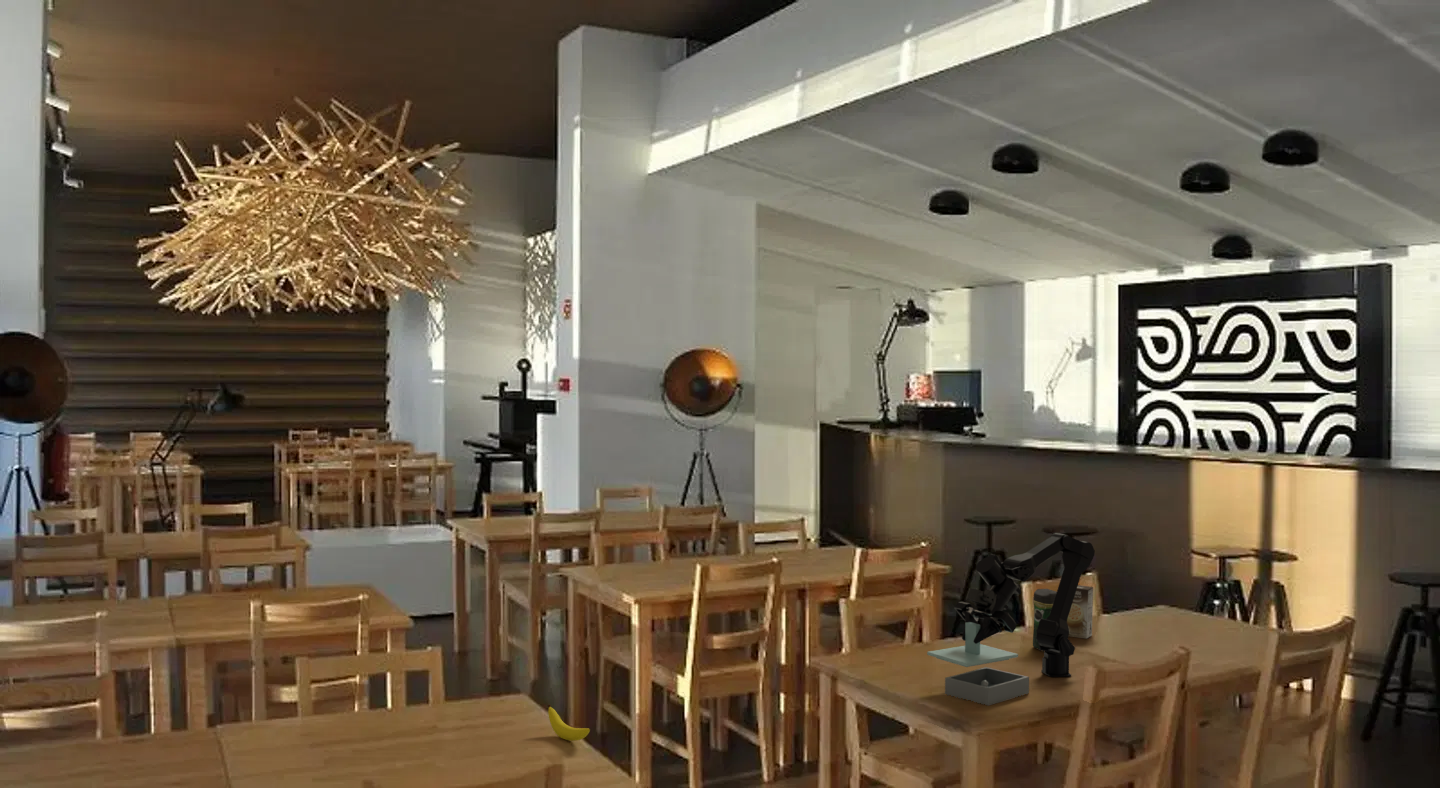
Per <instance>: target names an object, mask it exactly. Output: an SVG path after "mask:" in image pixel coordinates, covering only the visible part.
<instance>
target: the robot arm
mask: <svg viewBox="0 0 1440 788" xmlns="http://www.w3.org/2000/svg"><path fill="white" fill-rule="evenodd" d="M1058 553H1062V555H1061V560H1062V564H1063V570H1062V574H1061V577H1060V581H1059V584H1058V587H1057V590H1056V592H1057V593H1056V596H1055V599H1054V602H1053V606H1052V609H1051V612H1050V615H1049V616H1048V617H1047V618H1046V619H1040V621H1039V626H1038V628H1037V630H1036V632H1037V635H1036V639H1037V641H1038V645H1039V649H1040V650H1039V649H1038V650H1039V651H1040V652H1043V657H1042V659H1041V662H1042V663H1041V665H1042V666H1041V667H1042V668H1041V673H1043V674H1045V675H1047V677H1049V678H1055V677H1057V678H1058V677H1062V678H1063V677H1065V678H1066V677H1072V673H1070V657H1071V656H1073V655H1074V654H1075V649H1076V646H1074V644H1073V643H1072V642H1071V640H1070V639H1069V637H1070V636H1069V628H1068V624H1067V619H1068V616H1069V612H1070V609H1071V606H1072V603H1073V599H1074V596H1075V593H1076V590H1077V586H1078V585H1079V584H1080V580H1081V576H1082V574H1083V573H1084V572H1085V571H1086V570H1087V569H1088V568H1089V567H1090V566H1091V564H1092V561H1093V559H1094V557H1095V548H1094V545H1093V544H1092V543H1091V542H1088V541H1083V540H1082V541H1081V540H1078V539H1076V538H1073V537H1072V536H1069V535H1068V534H1064V533H1059V532H1055V533H1052V534H1051V535H1050V536H1049V537H1048V538H1046V539H1045V540H1043V541H1042V542H1040V543H1039V544H1037V545H1035V546H1034V547H1033V548H1031V549H1029V550H1027V552H1024V553H1021V554H1015V555H1012V556H1010V557H1009V556H1008V557H1007V558H1006V559H1004V560H1003V561H1002V562H1001V560H999V557H998V556H997V554H993V553H990V554H989V555H988V556H986V557H983V558H982V559H981V560H979V561H978V562H977V564H976V566H975V570H976V571H977V573H978V574H979V575H980V577H981V578H982V579H983V581H984V582H985V583H986V584H987V585H988V586H991V588H990V589H985V590H979V589H976V588H972V587H969V589H968V592H967V595H966V598H965V600H966V601H970V602H972V603H973V606H974V607H975V608H977V609H975V608H974V607H973V606H972V604H971V603H969V602H964V601H958V602H957V603H956V604H955V606H954V608H953V609H954V610H955V611H956V613H957V614H958V615H959V616H960V617H961V619H962V620H964V624H965V623H966V622H972V623H976V624H979V622H978V621H979V619H981V620H983V621H982V625H981V626H980V630H979V632H978V633H977V635H976V637H975V639H974V641H973V642H974V643H975V644H977V643H979V642H980V643H981V642H982V641H985V640H986V639H987V638H989V637H991V636H995V635H996V634H998V633H1002V632H1003V630H1002V628H1003V629H1004V631H1005V632H1008V633H1011V634H1013V633H1014V632H1015V630H1016V628H1017V622H1016V621H1015V620H1014V618H1013V617H1012V615H1010V613H1009V612H1007V610H1008V609H1009V606H1008V605H1007V604H1008V603H1009V602H1010V599H1011V598H1012V596H1013V595H1015V594H1016V595H1022V590H1021V587H1020V584H1019V583H1016V582H1015V580H1016V581H1020V582H1026V581H1028V580H1029V579H1030V578H1031V577H1032V576H1033V575H1034V574H1035V573H1036V570H1037V568H1038V567H1039V566H1040V565H1041V564H1043V563H1045V562H1046V561H1048V560H1049V559H1051V558H1052V557H1054V556H1056V555H1057V554H1058ZM1003 610H1005V611H1003ZM961 639H962V640H963V641H964V642H965V626H964V628H963V631H962V635H961Z"/></svg>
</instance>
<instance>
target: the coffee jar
mask: <svg viewBox="0 0 1440 788" xmlns="http://www.w3.org/2000/svg"><path fill="white" fill-rule="evenodd" d="M1056 593H1057V590H1056V591H1055V590H1052V589H1049V588H1038V589H1036V590H1035V591H1034V593H1033V598H1032V600H1033V609H1034V610H1033V611H1034V613H1033V614H1034V615H1033V616H1034V617H1033V633H1032V647H1033V648H1034V649H1037V650H1039V651H1040V649H1039V645H1038V641H1037V639H1036V635H1037V632H1036V630H1037V628H1038V626H1039V621H1040V619H1046V618H1047V617H1048V616H1049V615H1050V612H1051V609H1052V606H1053V602H1054V599H1055V596H1056Z"/></svg>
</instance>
